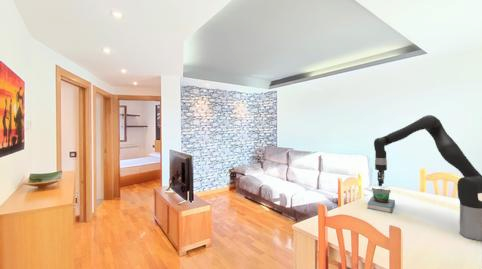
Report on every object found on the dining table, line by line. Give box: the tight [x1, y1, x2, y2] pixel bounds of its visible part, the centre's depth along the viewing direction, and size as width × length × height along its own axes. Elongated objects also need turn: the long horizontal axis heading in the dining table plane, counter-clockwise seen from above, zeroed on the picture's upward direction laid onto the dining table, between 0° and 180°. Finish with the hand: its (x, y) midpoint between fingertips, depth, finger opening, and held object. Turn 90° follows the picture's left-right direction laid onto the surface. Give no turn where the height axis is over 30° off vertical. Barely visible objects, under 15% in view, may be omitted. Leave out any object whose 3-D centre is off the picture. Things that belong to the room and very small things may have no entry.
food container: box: [371, 187, 392, 203], centre depth 161 cm, size 12×6×10 cm, turn 61°
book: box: [367, 196, 396, 214], centre depth 162 cm, size 20×15×4 cm
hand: (381, 184), depth 162 cm, fingers open, 8 cm apart
